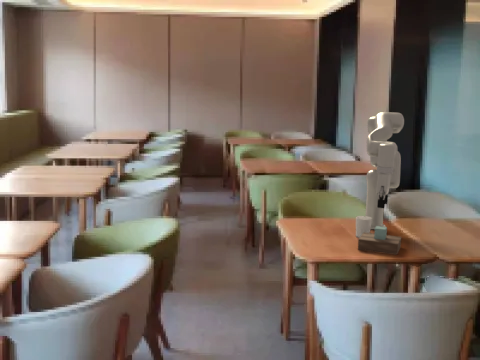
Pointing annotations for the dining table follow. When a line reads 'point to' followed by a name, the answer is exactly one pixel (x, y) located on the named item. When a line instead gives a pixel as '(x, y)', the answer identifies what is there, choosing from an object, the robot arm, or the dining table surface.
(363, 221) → the white cup
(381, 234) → the teal block
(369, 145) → the robot arm
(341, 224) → the dining table surface
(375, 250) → the walnut riser
